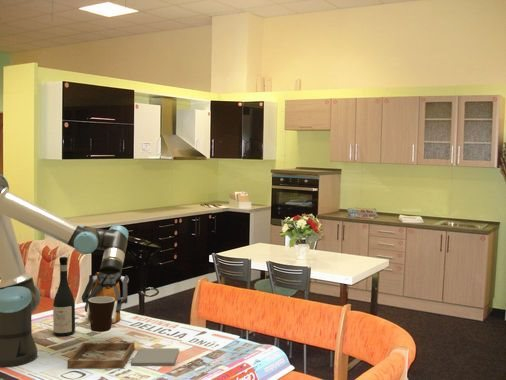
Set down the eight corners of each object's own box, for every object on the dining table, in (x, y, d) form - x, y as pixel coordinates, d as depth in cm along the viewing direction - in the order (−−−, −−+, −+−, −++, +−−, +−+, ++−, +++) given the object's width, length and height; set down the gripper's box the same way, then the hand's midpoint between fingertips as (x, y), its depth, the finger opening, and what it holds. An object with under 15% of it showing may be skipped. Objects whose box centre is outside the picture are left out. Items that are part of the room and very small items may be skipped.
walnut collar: (67, 368, 174) (67, 360, 174) (83, 349, 192) (83, 342, 192) (123, 368, 174) (123, 360, 174) (134, 349, 192) (134, 342, 192)
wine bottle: (70, 336, 206) (69, 259, 205) (50, 336, 207) (49, 258, 205) (78, 330, 214) (77, 255, 213) (58, 330, 215) (57, 255, 213)
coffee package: (85, 325, 222) (84, 272, 221) (105, 317, 234) (104, 267, 233) (104, 328, 218) (104, 274, 217) (123, 320, 229) (123, 268, 229)
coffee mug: (106, 334, 176) (107, 304, 176) (82, 331, 178) (83, 301, 177) (122, 324, 188) (123, 295, 187) (99, 321, 189) (100, 293, 189)
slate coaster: (131, 365, 176) (130, 362, 176) (139, 351, 190) (139, 348, 190) (173, 365, 177) (173, 362, 177) (178, 351, 191) (178, 348, 191)
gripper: (142, 270, 198) (133, 326, 182) (85, 269, 197) (71, 325, 182) (139, 258, 192) (130, 314, 177) (81, 257, 192) (66, 314, 176)
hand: (100, 320), depth 179 cm, fingers closed on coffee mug, 8 cm apart
